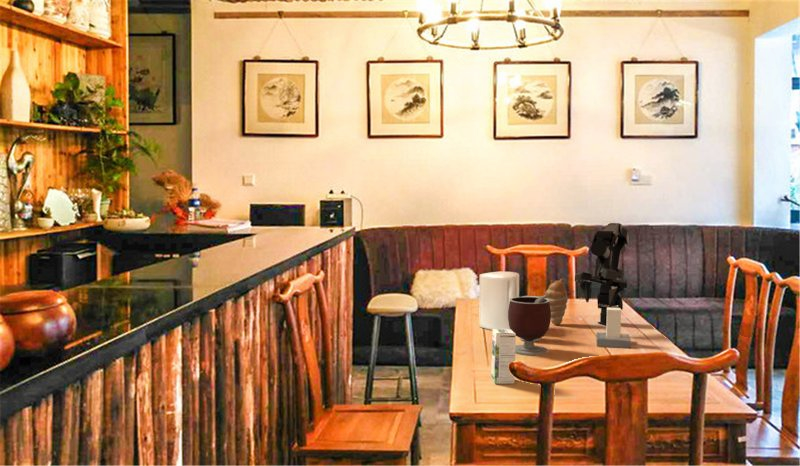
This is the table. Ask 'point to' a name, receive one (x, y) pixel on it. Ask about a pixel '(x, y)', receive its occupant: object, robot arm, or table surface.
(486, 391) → the table surface
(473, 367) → the table surface
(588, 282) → the robot arm
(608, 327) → the block
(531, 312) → the mate gourd
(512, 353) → the syrup box
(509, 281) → the paper towel roll
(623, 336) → the plate
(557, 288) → the spiral seashell
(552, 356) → the table surface
